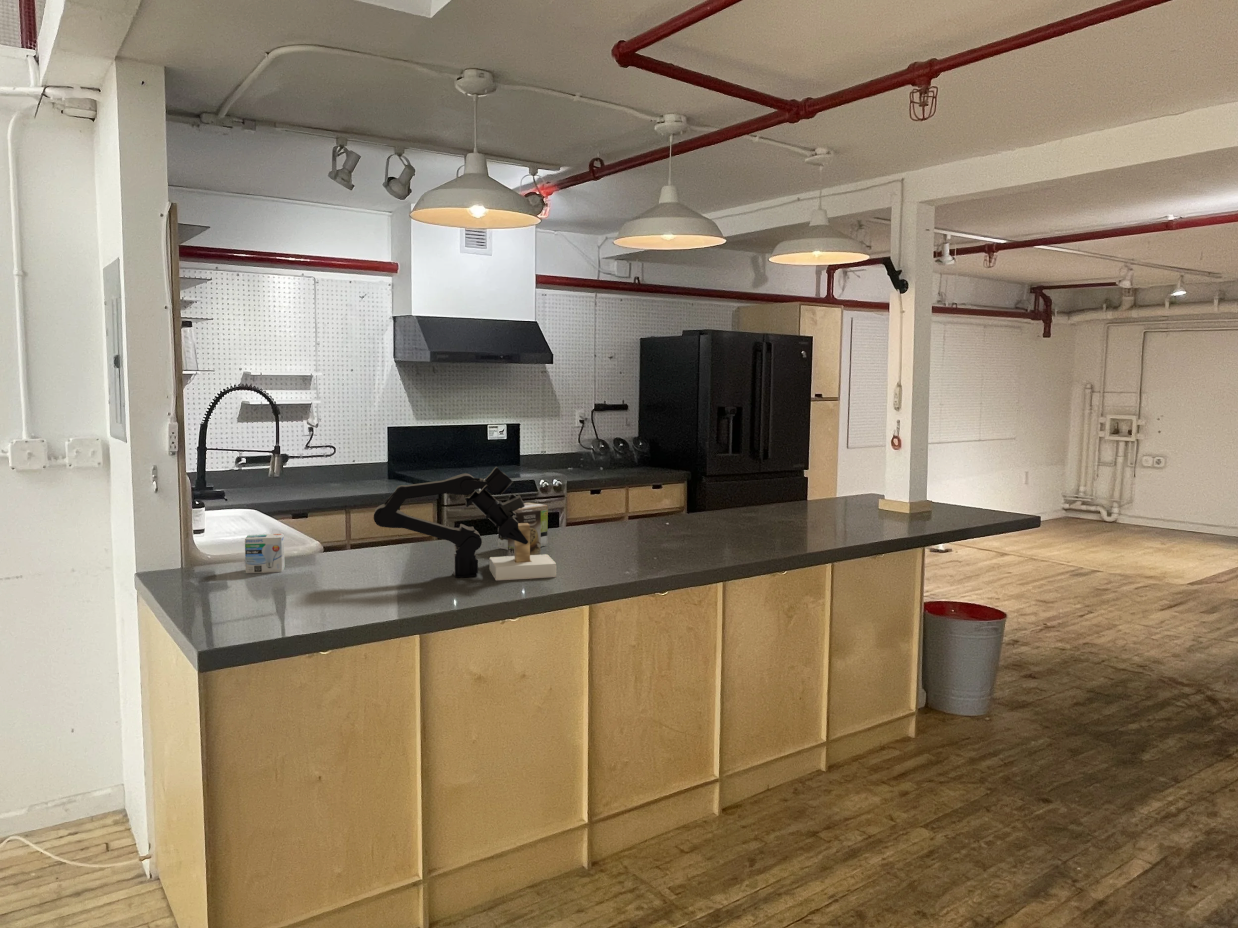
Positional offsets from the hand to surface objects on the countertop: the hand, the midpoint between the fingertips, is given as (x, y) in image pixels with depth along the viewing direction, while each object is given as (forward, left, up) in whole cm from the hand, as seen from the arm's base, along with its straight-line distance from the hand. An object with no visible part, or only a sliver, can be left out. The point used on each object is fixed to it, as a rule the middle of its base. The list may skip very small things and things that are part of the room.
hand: (526, 541), depth 268 cm
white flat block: (-1, 0, -10) cm, 10 cm away
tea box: (+6, +40, -10) cm, 41 cm away
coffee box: (+3, +20, -10) cm, 22 cm away
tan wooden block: (-1, 0, -7) cm, 7 cm away
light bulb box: (-76, +23, -10) cm, 80 cm away
